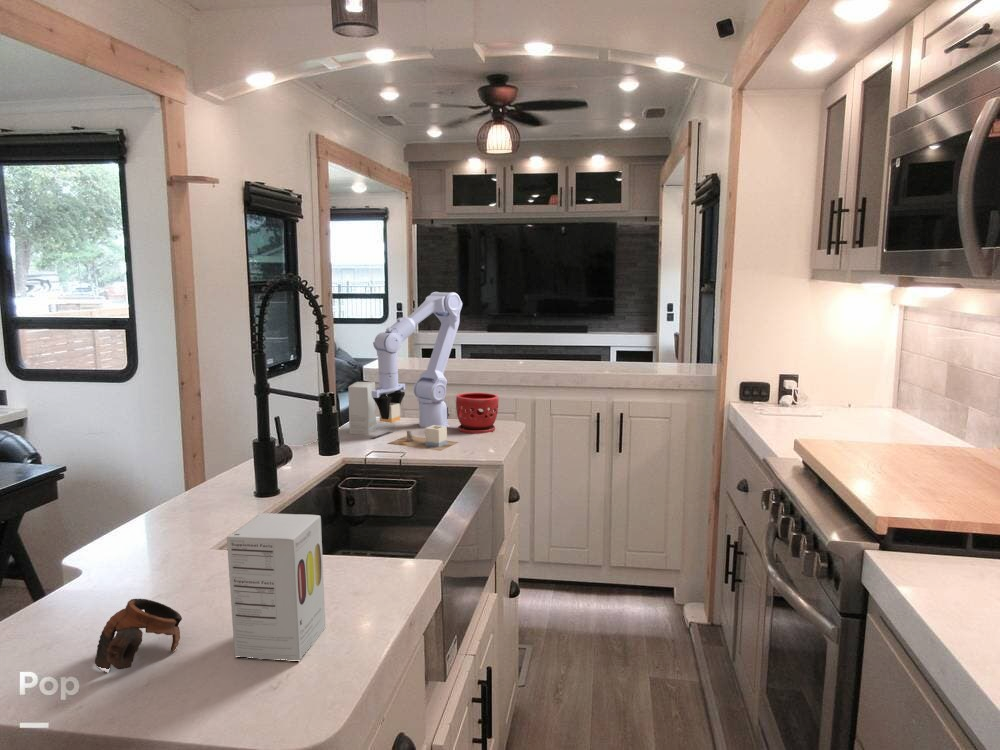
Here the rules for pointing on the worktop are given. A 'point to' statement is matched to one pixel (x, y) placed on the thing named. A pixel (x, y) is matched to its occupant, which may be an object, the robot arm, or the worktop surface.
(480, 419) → the plant pot
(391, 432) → the mat
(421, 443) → the pin board
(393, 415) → the cream square sleeve
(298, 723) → the worktop surface
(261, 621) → the supplement box
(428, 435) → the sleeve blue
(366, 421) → the skincare box
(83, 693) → the worktop surface
